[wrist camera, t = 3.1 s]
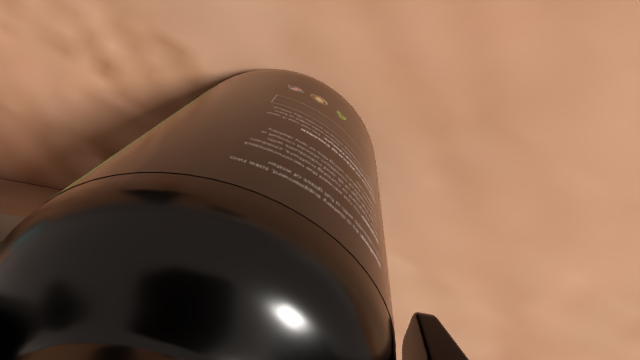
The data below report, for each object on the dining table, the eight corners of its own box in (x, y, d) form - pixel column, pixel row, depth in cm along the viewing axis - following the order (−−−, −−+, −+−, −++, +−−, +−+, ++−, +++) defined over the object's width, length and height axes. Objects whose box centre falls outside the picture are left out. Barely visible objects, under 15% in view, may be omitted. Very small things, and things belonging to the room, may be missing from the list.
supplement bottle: (159, 85, 13) (-866, 593, 2) (359, 46, 12) (391, 731, 1) (222, 246, 16) (-64, 796, 5) (386, 227, 14) (467, 889, 4)
